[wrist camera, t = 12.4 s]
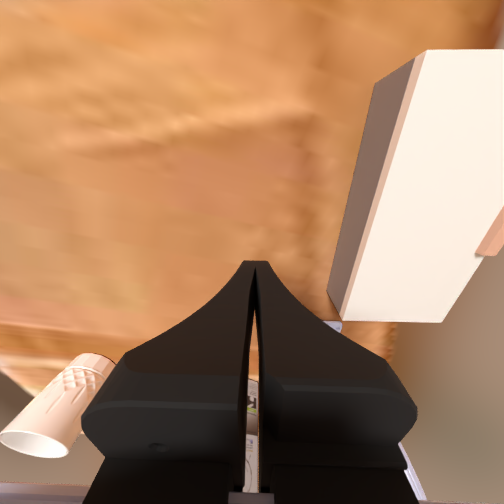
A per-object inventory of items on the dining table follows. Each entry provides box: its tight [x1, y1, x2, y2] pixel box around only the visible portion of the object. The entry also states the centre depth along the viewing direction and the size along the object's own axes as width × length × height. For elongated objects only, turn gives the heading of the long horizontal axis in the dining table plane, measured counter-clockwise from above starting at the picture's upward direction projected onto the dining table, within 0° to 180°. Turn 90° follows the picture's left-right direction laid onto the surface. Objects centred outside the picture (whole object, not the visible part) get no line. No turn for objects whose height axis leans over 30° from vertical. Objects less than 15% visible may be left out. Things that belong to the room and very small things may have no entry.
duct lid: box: [339, 50, 504, 323], centre depth 14 cm, size 20×10×1 cm, turn 0°
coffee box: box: [243, 379, 258, 493], centre depth 27 cm, size 9×6×16 cm
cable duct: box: [326, 58, 415, 314], centre depth 17 cm, size 20×10×4 cm, turn 0°
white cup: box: [0, 353, 116, 458], centre depth 27 cm, size 8×8×10 cm
